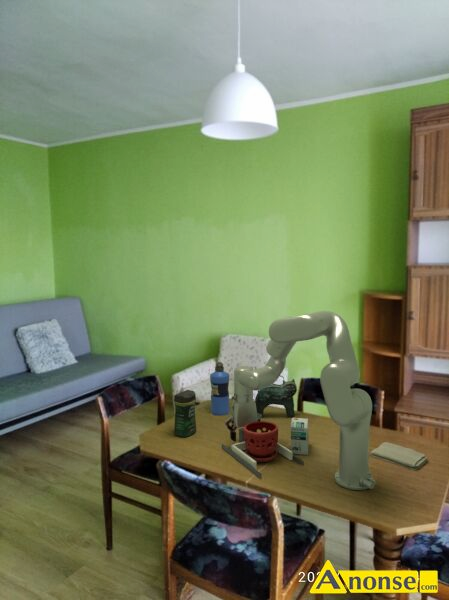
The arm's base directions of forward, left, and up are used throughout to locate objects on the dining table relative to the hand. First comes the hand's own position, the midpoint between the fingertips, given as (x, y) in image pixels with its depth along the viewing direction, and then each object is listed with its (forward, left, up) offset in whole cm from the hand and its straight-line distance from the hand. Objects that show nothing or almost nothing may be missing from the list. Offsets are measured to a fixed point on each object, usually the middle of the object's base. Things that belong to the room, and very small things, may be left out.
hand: (243, 437), depth 178 cm
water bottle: (+37, -9, -3) cm, 39 cm away
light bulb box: (-15, -17, -3) cm, 23 cm away
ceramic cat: (+18, -29, -3) cm, 35 cm away
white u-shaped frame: (-10, 0, -2) cm, 10 cm away
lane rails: (-13, 0, -3) cm, 13 cm away
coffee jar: (+22, +16, -3) cm, 28 cm away
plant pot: (-13, 0, -3) cm, 13 cm away
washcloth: (-40, -44, -3) cm, 59 cm away
